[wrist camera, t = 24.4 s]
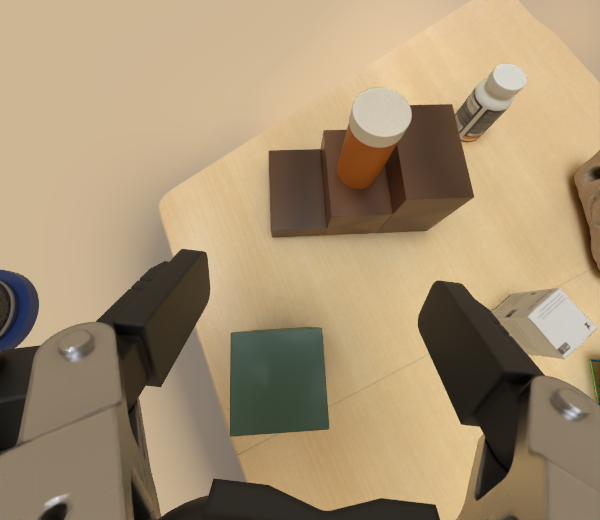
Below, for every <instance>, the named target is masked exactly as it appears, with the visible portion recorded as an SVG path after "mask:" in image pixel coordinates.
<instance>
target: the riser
mask: <svg viewBox="0 0 600 520" xmlns="http://www.w3.org/2000/svg"><path fill="white" fill-rule="evenodd" d="M410 108H411V112H412V118H411V122H410V124H409V126H408V127H407V129H406V131H405V133H404V134H403V136H402V138H401V139H400V140H399V141H398V143H397V145H396V146H395V148H394V150H393V152H392V153H391V155H390V157H389V158H388V160H387V162H386V164H385V165H384V167H383V169H382V171H381V172H380V174H379V176H378V178H377V179H376V181H375V182H374V184H372V185H371V186H370V187H368V188H365V189H353V188H350V187H348V186H346V185H345V184H343V183H342V182H341V180H340V179H339V177H338V175H337V164H338V161H339V157H340V153H341V150H342V146H343V143H344V139H345V135H346V132H347V130H324V132H323V138H322V144H321V150H320V149H314V150H279V151H269V179H270V213H271V232H272V237H289V236H313V235H337V234H360V233H385V232H408V231H427V230H428V229H430V228H431V227H433V226H434V225H435V224H437V223H438V222H440V221H441V220H442V219H444V218H445V217H447V216H448V215H450V214H451V213H452V212H454V211H455V210H457V209H458V208H459V207H461V206H462V205H464V204H465V203H467V202H468V201H469V200H471V199H472V198H474V194H473V190H472V186H471V182H470V177H469V173H468V169H467V165H466V161H465V156H464V152H463V148H462V144H461V140H460V135H459V131H458V127H457V123H456V119H455V114H454V110H453V106H452V104H448V105H410Z"/></svg>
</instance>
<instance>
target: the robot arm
mask: <svg viewBox="0 0 600 520" xmlns="http://www.w3.org/2000/svg"><path fill="white" fill-rule="evenodd" d="M209 296H210V280H209V269H208V258H207V254H206V252H203V251H195V250H186V249H182V250H180V251H179V252H178V253H177V254H176V255H175V256H174V258H173V259H172V260H171V261H170V262H166V261H164V262H163V263H160V264H158V265H157V266H155V267H153V268H151V269H149V270H148V271H147V272H146V273H145V274H144V275H143V276H142V277H141V278H140V281H137V282H136V283H135V284H134V285H133V286H132V288H131V289H129V290H128V291H127V292H126V293H125V294H124V295H123V296H122V297H121V298H120V299H119V300H118V301H117V302H116V303H114V305H112V306H111V307H110V309H108V310H107V311H106V312H105V313H104V314H103V315H102V316H101V317H100V318H99V319H98V320H97V321H96V322H89V323H82V324H77V325H74V326H71V327H69V328H66V329H64V330H62V331H60V332H58V333H57V334H55V335H53V336H51V337H50V338H49V339H47V340H46V341H45V342H44V343H43V344H42V345H40V346H33V347H25V348H17V349H9V350H0V520H440V518H439V515H438V511H437V508H436V505H432V504H424V503H416V502H407V501H399V500H390V499H382V498H381V499H377V500H373V501H369V502H365V503H361V504H356V505H352V506H348V507H344V508H340V509H336V510H332V511H322V510H320V509H317V508H315V507H313V506H311V505H309V504H307V503H305V502H303V501H301V500H298V499H296V498H294V497H292V496H290V495H288V494H286V493H284V492H282V491H280V490H277V489H275V488H273V487H271V486H269V485H263V484H255V483H246V482H238V481H229V480H221V479H213V482H212V486H211V489H210V493H209V495H208V496H204V497H200V498H197V499H195V500H192V501H189V502H187V503H184V504H183V505H181V506H179V507H177V508H175V509H173V510H171V511H169V512H168V513H166V514H165V515H164V516H162V517H161V514H160V509H159V503H158V498H157V493H156V489H155V485H154V481H153V477H152V473H151V469H150V463H149V458H148V451H147V446H146V438H145V433H144V426H143V420H142V413H141V407H140V401H139V398H138V397H139V395H140V394H141V392H142V390H143V389H144V387H145V386H146V385H147V386H156V387H161V386H162V384H163V382H164V380H165V379H166V377H167V375H168V373H169V371H170V370H171V368H172V366H173V364H174V362H175V361H176V359H177V357H178V355H179V354H180V352H181V350H182V348H183V346H184V345H185V343H186V341H187V339H188V337H189V336H190V334H191V332H192V330H193V328H194V327H195V325H196V323H197V321H198V319H199V318H200V316H201V314H202V312H203V311H204V309H205V307H206V305H207V303H208V300H209ZM18 312H19V299H18V295H17V293H16V291H15V289H14V288H13V287H12V286H11V285H10V284H9V283H7V282H5V281H3V280H0V340H1V339H2V338H4V337H5V336H6V334H7V333H8V332H9V331H10V330H11V328H12V327H13V325H14V323H15V321H16V318H17V316H18ZM418 328H419V331H420V334H421V336H422V338H423V340H424V343H425V345H426V347H427V349H428V352H429V354H430V356H431V358H432V360H433V363H434V365H435V367H436V369H437V371H438V374H439V376H440V378H441V380H442V383H443V385H444V387H445V389H446V391H447V394H448V396H449V398H450V400H451V403H452V405H453V407H454V409H455V411H456V414H457V416H458V418H459V420H460V423H461V424H462V425H471V426H479V427H481V429H482V431H483V433H484V434H483V435H482V436H481V437H480V439H479V441H478V444H477V449H476V453H475V458H474V462H473V467H472V471H471V476H470V481H469V485H468V490H467V494H466V499H465V502H464V506H463V508H462V510H461V513H460V514H459V516H458V518H457V519H456V520H600V406H599V405H598V404H597V403H596V402H595V401H594V400H592V399H591V398H590V397H589V396H587V395H586V394H585V393H583V392H582V391H580V390H579V389H577V388H576V387H574V386H572V385H570V384H568V383H566V382H564V381H562V380H559V379H557V378H553V377H549V376H545V375H544V374H543V373H542V372H541V370H540V369H539V368H538V367H537V366H536V364H535V363H534V362H533V361H532V360H531V358H530V357H529V356H528V355H527V354H526V353H525V351H524V350H523V349H522V348H521V347H520V345H519V344H518V343H517V342H516V341H515V339H514V338H513V337H512V336H509V332H508V331H507V330H506V329H505V328H504V326H503V325H500V322H499V320H498V319H497V318H496V317H495V316H494V314H493V313H492V312H491V311H490V310H489V309H487V308H486V307H485V306H483V305H482V304H481V303H479V302H478V301H477V300H475V299H474V298H473V296H472V295H471V294H470V293H469V292H468V290H467V289H466V288H465V287H464V285H462V284H460V283H454V282H445V281H436V282H435V283H434V284H433V285H432V287H431V289H430V291H429V294H428V296H427V298H426V300H425V302H424V305H423V307H422V309H421V311H420V314H419V317H418Z"/></svg>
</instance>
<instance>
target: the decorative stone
mask: <svg viewBox="0 0 600 520" xmlns="http://www.w3.org/2000/svg"><path fill="white" fill-rule="evenodd" d="M574 182H575V185H576V187H577V189H578V194H579V198H580V200H581V202H582V205H583V209H584V212H585V216H586V220H587V222H588V225H589V228H590V235H591V252H592V255H593V259H594V260H595V262H596V263H597V267H598V269H599V270H600V150H599V152H597V153H596V154H595V155H594V156H593V157H592V158H591V159H590V160H588V161H587V162H586V163H584V164H583V165H582V166H581V167H580V169H579V170H578V171H577V172H576V174H575V177H574Z"/></svg>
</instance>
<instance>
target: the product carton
mask: <svg viewBox="0 0 600 520" xmlns="http://www.w3.org/2000/svg"><path fill="white" fill-rule="evenodd" d="M492 313H493V314H494V316H495V317H496V318H497V319H498V320H499V322H500V325H503V326H504V328H505V329H506V330H507V331H508V332H509V336H512V337H513V338H514V339H515V341H516V342H517V343H518V344H519V345H520V347H521V348H522V349H523V350H524V351H525V353H526V354H532V355H539V356H546V357H554V358H561V359H565V358H566V357H568V356H569V355H570V354H571V353H572V352H573V351H574V350H575V349H577V348H578V347H579V346H581V345H582V344H583V343H584V342H585V340H586V339H587V338H588V337H589V336H590V335H591V334H592V333H593V332H594V331H595V330H596V329H597V327H596V326H595V325H594V324H593V323H592V322H591V321H590V320H589V319H588V318H587V317H586V316H585V315H584V314H583V313H582V311H581V310H580V309H579V308H578V307H577V306H576V305H575V304H574V303H573V302H572V301H571V299H570V298H569V297H568V296H567V295H566V294H565V293H564V292H563V291H562V290H561V289H560V288H556V289H548V290H540V291H532V292H523V293H516V294H512V295H510V296H509V297H508V298H507V299H506V300H505V301H504V302H503V303H502V304H500V305H499V306H498V307H497V308H496V309H494V310H493V311H492Z"/></svg>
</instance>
